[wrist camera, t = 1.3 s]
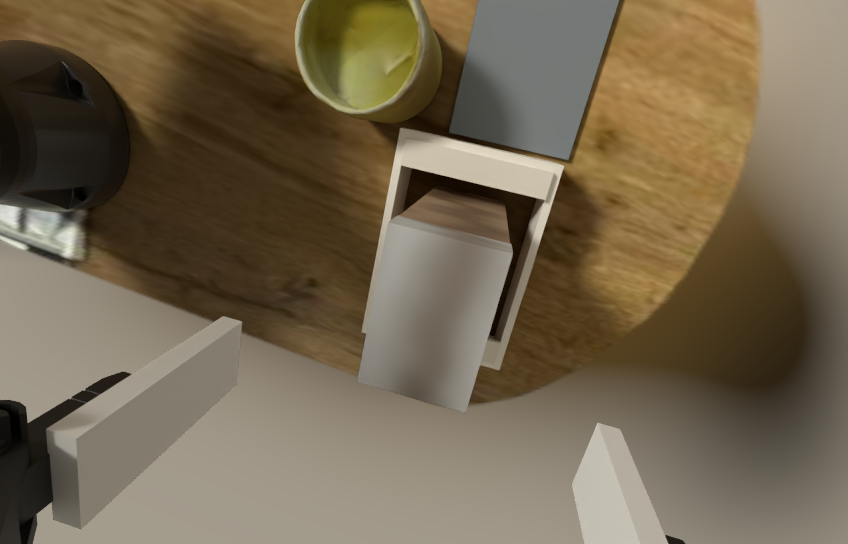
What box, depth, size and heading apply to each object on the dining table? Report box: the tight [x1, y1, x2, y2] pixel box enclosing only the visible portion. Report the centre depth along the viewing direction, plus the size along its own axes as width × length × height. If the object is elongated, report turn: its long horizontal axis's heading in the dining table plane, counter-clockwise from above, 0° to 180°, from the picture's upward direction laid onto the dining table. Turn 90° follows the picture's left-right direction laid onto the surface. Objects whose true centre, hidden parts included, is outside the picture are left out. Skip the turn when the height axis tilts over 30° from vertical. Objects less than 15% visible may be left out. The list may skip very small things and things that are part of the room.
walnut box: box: [357, 185, 513, 413], centre depth 30 cm, size 6×9×18 cm
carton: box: [362, 128, 564, 370], centre depth 36 cm, size 12×17×5 cm
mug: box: [294, 0, 442, 123], centre depth 32 cm, size 12×10×10 cm
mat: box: [449, 0, 619, 160], centre depth 34 cm, size 10×12×1 cm
